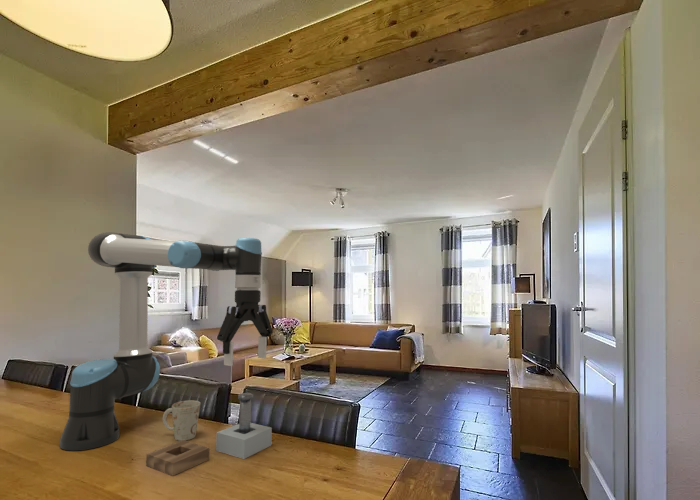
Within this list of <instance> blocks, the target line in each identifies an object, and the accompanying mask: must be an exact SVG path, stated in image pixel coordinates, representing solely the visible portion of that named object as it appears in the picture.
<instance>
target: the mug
mask: <svg viewBox="0 0 700 500" xmlns="http://www.w3.org/2000/svg"><path fill="white" fill-rule="evenodd" d="M200 409H201V402H200V400H191V399H190V400H181V401H178V402H175V403H173V404H172V405H171V407H170V408H167V409H166V410H165V411H164V412H163V415H162V423H163V425H164V427H166V429H167V430H169V431H173V436H174V440H175V441H178V442H179V441H182V440H185V441H189V440H192V439H194V438H195V437H196V435H197V428H198V423H199V418H200V417H199V416H200ZM170 413H171V414H172V415H171V417H172V424H173V426H171V425H170V424H169V423H168V421H167V418H168V417H167V416H168V415H169V414H170Z"/></svg>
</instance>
